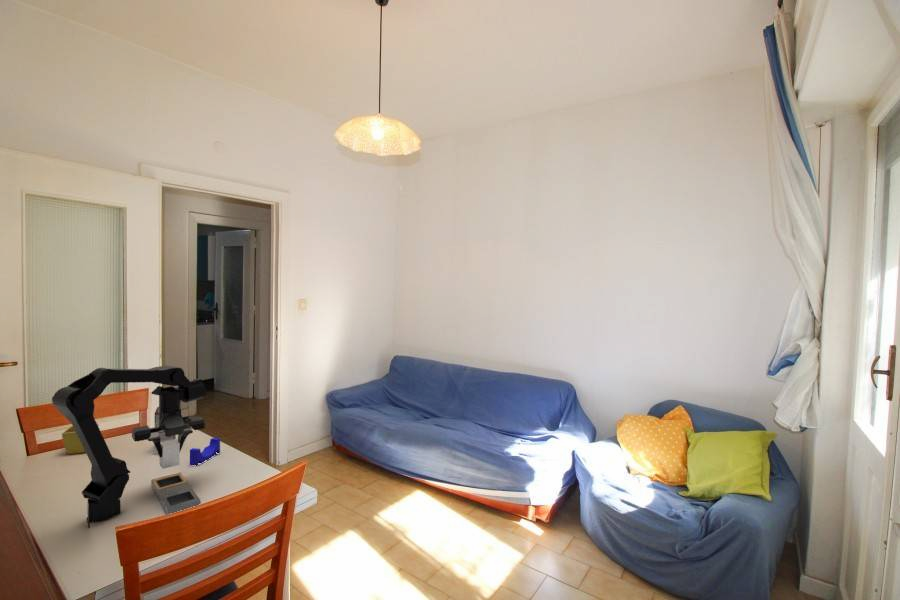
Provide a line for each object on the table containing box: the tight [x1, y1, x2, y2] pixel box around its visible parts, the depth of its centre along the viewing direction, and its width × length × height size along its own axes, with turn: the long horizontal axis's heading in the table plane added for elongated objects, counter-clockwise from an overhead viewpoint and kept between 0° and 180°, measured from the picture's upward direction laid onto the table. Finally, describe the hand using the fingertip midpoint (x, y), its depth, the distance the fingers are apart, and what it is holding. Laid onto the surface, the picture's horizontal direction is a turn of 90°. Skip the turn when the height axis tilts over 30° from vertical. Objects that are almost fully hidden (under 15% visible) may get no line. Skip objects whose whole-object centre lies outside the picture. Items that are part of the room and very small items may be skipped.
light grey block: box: [159, 438, 181, 470], centre depth 133 cm, size 4×4×7 cm
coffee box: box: [153, 406, 177, 455], centre depth 165 cm, size 9×6×16 cm
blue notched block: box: [189, 437, 221, 467], centre depth 157 cm, size 12×4×6 cm, turn 172°
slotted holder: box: [150, 472, 201, 515], centre depth 128 cm, size 8×24×3 cm, turn 44°
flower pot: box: [61, 423, 100, 455], centre depth 161 cm, size 9×9×9 cm
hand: (169, 455), depth 133 cm, fingers closed on light grey block, 4 cm apart
